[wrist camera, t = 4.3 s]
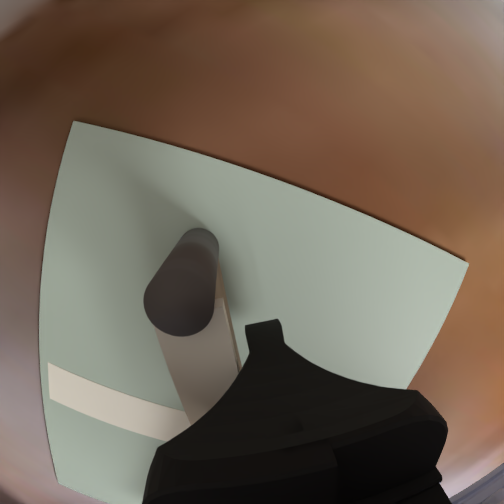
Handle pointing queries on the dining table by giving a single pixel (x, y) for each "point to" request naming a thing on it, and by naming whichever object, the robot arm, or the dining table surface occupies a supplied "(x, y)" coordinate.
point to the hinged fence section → (194, 322)
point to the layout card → (236, 287)
